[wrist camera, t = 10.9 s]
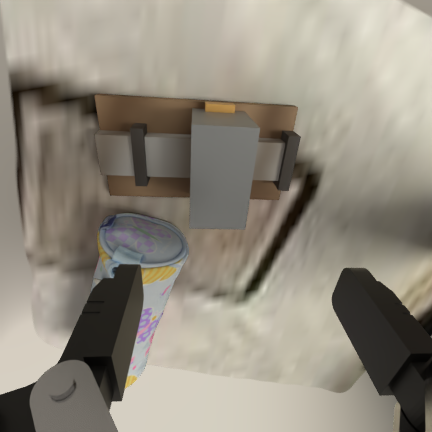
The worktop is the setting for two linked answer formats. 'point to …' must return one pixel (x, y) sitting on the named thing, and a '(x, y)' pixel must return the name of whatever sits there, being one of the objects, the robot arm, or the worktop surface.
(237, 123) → the din module
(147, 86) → the worktop surface
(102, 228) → the pencil case
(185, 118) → the rail board
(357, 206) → the worktop surface
